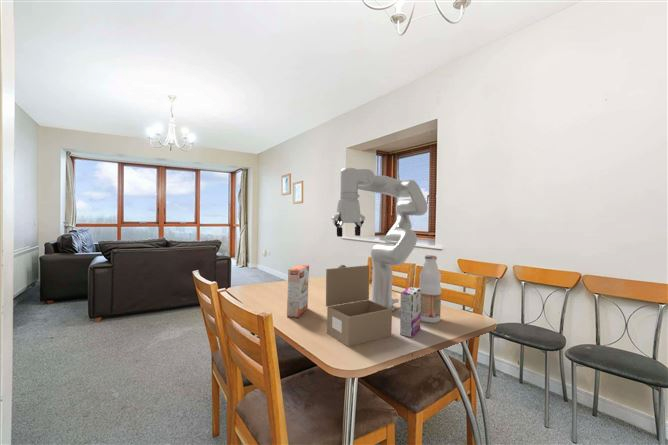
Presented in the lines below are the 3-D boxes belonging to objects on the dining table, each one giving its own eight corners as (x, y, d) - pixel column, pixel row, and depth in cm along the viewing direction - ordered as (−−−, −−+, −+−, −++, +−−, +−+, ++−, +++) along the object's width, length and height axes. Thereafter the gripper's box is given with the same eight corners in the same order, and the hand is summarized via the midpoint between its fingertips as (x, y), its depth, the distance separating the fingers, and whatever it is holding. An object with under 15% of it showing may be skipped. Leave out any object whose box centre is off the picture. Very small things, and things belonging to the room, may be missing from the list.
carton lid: (368, 299, 126) (358, 296, 132) (369, 264, 126) (359, 262, 132) (326, 306, 115) (318, 302, 121) (327, 268, 115) (318, 266, 121)
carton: (367, 323, 126) (368, 299, 126) (391, 335, 114) (392, 309, 114) (326, 333, 115) (326, 306, 115) (347, 347, 103) (348, 317, 103)
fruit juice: (417, 321, 130) (419, 256, 129) (417, 314, 139) (419, 254, 138) (441, 324, 127) (443, 258, 127) (439, 317, 136) (441, 255, 136)
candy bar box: (408, 326, 124) (409, 286, 124) (420, 328, 122) (421, 288, 121) (399, 335, 115) (400, 292, 114) (412, 338, 112) (413, 294, 112)
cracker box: (299, 318, 131) (300, 270, 131) (286, 316, 132) (287, 269, 132) (308, 308, 145) (309, 264, 144) (296, 307, 146) (297, 264, 145)
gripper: (359, 197, 140) (359, 234, 140) (327, 196, 130) (327, 236, 131) (370, 197, 133) (369, 236, 134) (337, 195, 124) (337, 237, 124)
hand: (348, 236), depth 132 cm, fingers open, 9 cm apart
